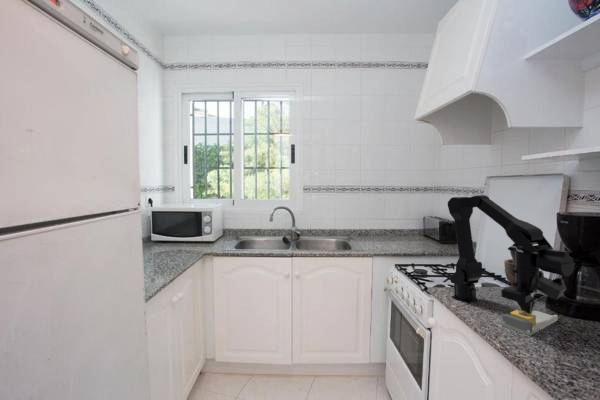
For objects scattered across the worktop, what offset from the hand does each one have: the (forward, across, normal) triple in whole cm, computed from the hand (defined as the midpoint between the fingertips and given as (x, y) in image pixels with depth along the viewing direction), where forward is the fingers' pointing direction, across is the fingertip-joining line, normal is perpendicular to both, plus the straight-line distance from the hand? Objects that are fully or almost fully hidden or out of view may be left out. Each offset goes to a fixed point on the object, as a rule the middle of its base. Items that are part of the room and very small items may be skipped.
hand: (527, 316), depth 86 cm
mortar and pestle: (+3, +24, +12) cm, 27 cm away
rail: (+2, +2, 0) cm, 3 cm away
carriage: (+1, -3, 0) cm, 3 cm away
